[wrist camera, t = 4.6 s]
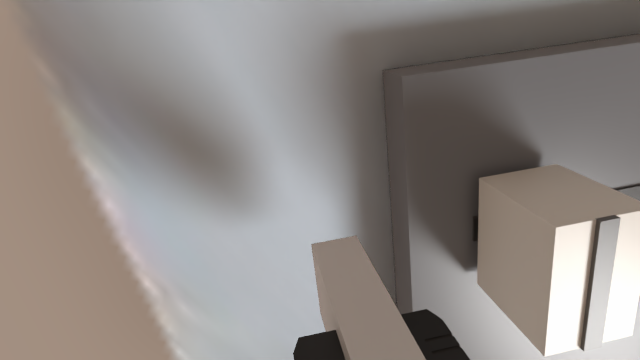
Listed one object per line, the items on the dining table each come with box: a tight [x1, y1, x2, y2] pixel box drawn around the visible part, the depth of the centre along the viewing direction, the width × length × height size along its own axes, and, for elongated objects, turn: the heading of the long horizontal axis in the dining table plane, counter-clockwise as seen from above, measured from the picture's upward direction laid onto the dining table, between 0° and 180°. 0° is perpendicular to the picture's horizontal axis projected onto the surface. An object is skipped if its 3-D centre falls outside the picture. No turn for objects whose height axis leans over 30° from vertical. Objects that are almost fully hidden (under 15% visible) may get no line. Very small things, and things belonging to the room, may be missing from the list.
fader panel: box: [383, 34, 640, 360], centre depth 21 cm, size 26×22×2 cm
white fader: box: [477, 164, 640, 357], centre depth 15 cm, size 4×3×4 cm
